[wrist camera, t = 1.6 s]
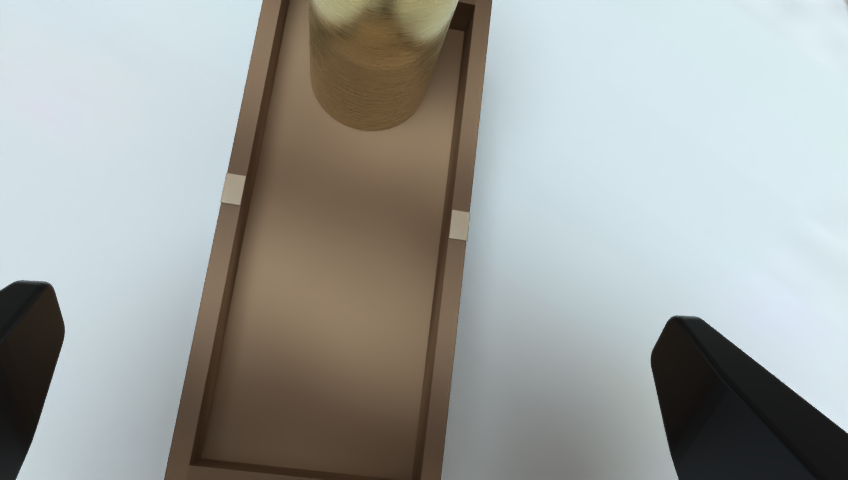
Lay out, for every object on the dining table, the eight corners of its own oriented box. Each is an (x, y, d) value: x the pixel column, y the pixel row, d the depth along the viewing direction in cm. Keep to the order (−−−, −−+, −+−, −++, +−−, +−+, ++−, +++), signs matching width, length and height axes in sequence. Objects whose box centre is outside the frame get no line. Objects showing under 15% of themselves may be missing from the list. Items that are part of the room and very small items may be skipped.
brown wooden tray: (421, 491, 18) (438, 509, 16) (187, 466, 18) (162, 481, 15) (472, 42, 22) (493, -6, 19) (278, 4, 21) (272, -52, 18)
